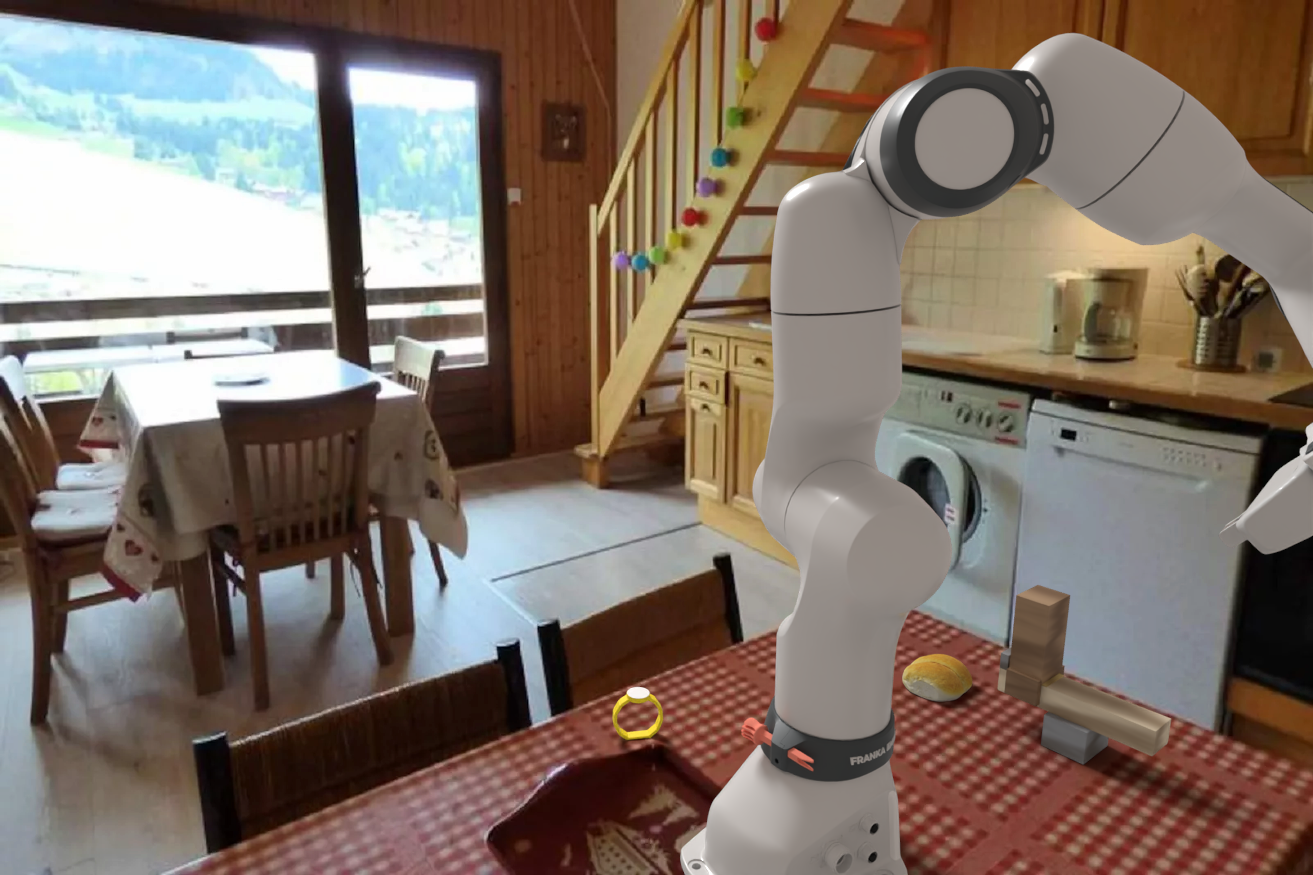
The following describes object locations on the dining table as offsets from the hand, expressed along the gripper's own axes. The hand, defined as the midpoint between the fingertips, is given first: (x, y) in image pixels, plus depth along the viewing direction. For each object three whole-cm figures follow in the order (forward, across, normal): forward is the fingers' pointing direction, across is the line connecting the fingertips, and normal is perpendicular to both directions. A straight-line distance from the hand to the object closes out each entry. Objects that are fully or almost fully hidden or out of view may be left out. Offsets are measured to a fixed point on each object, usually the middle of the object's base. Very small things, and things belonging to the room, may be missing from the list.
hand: (1226, 537), depth 85 cm
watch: (+55, +33, -20) cm, 67 cm away
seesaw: (+30, -1, +10) cm, 32 cm away
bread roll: (+43, -3, -3) cm, 43 cm away
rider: (+30, -2, +3) cm, 31 cm away
